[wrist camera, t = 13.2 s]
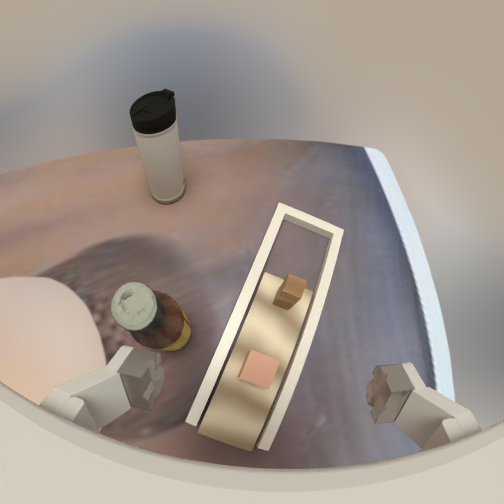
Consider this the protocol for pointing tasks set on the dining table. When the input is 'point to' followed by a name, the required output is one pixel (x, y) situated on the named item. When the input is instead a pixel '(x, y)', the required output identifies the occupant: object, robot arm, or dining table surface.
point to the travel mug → (159, 144)
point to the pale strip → (263, 341)
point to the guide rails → (307, 330)
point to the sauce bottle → (150, 317)
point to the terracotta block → (258, 368)
